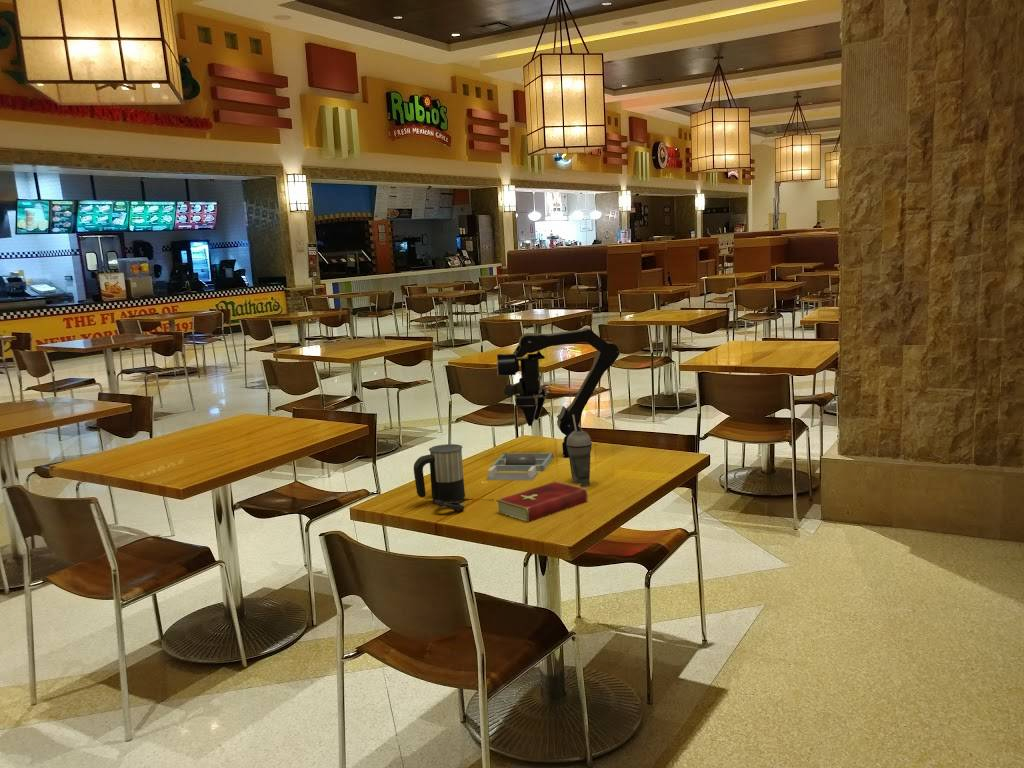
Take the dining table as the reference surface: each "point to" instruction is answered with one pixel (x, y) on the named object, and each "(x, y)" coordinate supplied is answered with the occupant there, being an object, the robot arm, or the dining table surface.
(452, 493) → the milk frother
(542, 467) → the cell tray
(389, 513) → the dining table surface
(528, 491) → the hardcover book
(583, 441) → the beverage cup
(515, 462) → the battery cell
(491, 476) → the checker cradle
